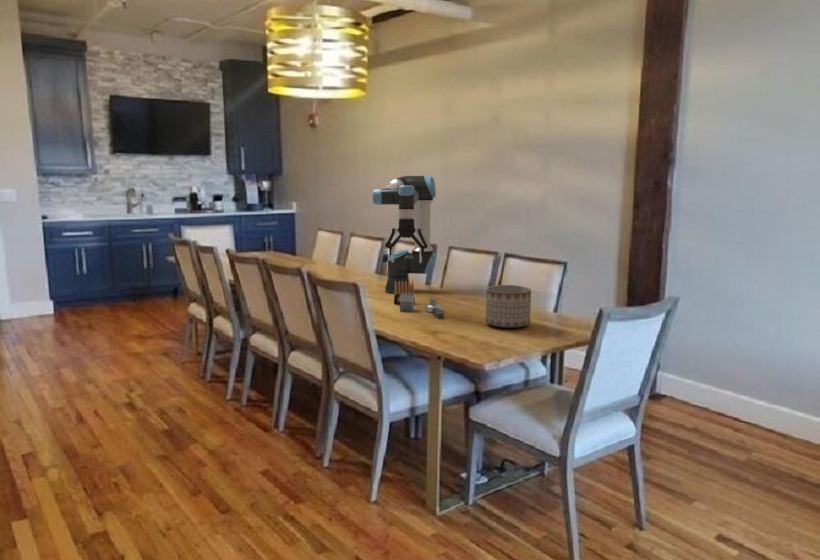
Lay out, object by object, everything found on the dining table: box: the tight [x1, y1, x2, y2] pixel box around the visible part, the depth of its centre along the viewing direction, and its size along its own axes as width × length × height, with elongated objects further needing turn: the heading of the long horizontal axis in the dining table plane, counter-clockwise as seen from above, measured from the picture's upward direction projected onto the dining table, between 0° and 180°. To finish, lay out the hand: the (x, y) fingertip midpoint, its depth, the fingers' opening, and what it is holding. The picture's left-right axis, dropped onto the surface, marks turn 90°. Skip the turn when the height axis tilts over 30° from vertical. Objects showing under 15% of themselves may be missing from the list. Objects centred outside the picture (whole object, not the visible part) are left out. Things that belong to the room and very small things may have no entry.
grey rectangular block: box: [399, 292, 415, 313], centre depth 302 cm, size 6×6×8 cm
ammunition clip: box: [393, 280, 416, 306], centre depth 317 cm, size 11×2×12 cm, turn 104°
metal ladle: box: [424, 298, 445, 320], centre depth 294 cm, size 20×8×6 cm, turn 11°
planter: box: [485, 284, 532, 329], centre depth 271 cm, size 19×19×16 cm
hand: (406, 262), depth 296 cm, fingers open, 13 cm apart
